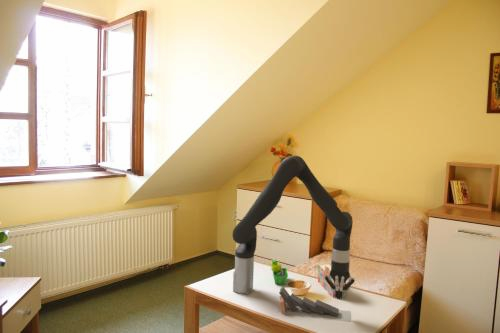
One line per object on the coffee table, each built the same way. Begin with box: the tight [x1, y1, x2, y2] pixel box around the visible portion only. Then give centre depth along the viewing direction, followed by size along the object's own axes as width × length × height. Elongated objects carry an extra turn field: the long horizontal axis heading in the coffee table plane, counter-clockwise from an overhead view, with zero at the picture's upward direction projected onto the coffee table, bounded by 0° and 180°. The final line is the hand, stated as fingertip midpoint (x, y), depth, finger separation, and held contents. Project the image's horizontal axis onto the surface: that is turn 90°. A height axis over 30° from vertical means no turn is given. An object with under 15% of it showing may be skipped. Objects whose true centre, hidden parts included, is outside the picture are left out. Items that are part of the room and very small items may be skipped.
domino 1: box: [279, 295, 287, 314], centre depth 172 cm, size 2×5×10 cm
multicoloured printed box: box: [317, 263, 347, 299], centre depth 196 cm, size 21×6×12 cm, turn 10°
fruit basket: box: [270, 259, 289, 285], centre depth 205 cm, size 11×9×11 cm
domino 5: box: [315, 299, 340, 317], centre depth 168 cm, size 2×5×10 cm
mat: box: [277, 304, 352, 323], centre depth 170 cm, size 31×10×1 cm, turn 78°
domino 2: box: [279, 286, 297, 312], centre depth 172 cm, size 2×5×10 cm
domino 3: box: [289, 293, 311, 313], centre depth 171 cm, size 2×5×10 cm
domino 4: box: [302, 296, 325, 315], centre depth 170 cm, size 2×5×10 cm
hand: (338, 298), depth 167 cm, fingers closed
